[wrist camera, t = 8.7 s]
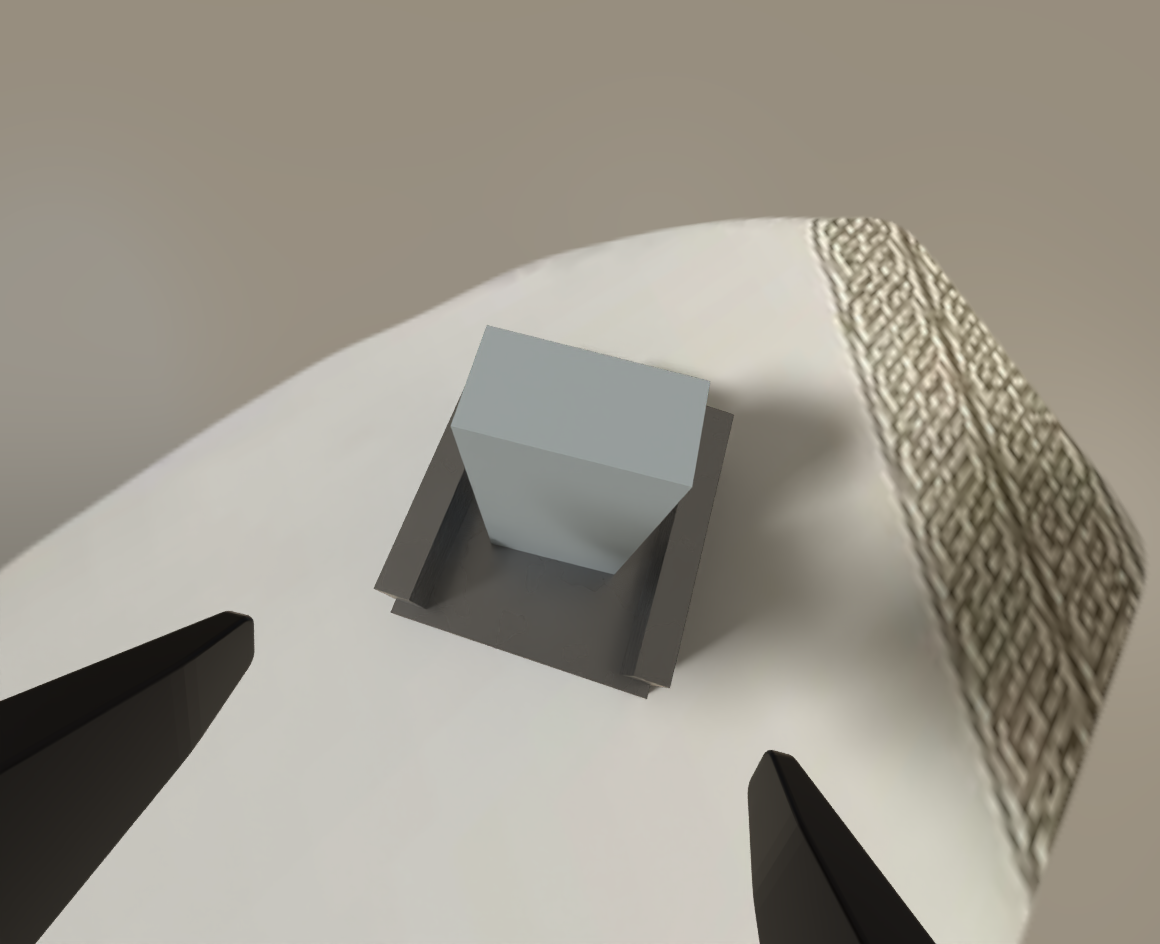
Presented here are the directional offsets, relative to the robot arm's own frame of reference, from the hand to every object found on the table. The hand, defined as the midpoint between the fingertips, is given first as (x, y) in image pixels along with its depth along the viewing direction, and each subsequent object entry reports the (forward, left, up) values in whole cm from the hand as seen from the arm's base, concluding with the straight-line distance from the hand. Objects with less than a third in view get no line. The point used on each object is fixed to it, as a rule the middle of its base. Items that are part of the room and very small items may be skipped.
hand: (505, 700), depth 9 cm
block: (+6, -1, -11) cm, 12 cm away
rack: (+6, -1, -12) cm, 14 cm away
